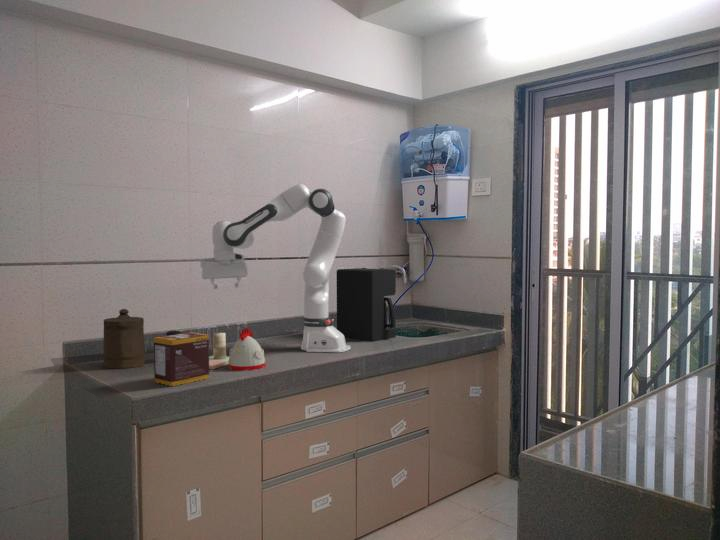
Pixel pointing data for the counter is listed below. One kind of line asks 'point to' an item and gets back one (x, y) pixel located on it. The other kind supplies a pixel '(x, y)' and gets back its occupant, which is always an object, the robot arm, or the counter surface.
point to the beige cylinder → (219, 345)
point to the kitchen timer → (246, 353)
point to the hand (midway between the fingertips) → (226, 288)
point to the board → (217, 362)
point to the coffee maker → (365, 303)
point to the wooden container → (124, 341)
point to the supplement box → (181, 358)
